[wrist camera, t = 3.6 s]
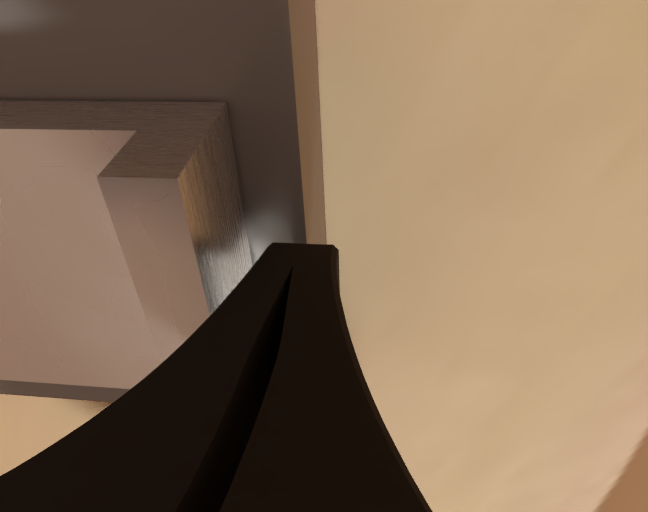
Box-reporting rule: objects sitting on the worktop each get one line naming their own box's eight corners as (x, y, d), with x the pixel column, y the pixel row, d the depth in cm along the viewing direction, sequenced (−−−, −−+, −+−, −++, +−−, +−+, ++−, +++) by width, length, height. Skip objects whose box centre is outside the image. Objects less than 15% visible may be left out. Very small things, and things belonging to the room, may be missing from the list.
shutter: (267, 360, 14) (243, 454, 12) (18, 344, 15) (-46, 429, 13) (226, 102, 10) (176, 179, 8) (-124, 99, 11) (-256, 168, 8)
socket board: (331, 340, 18) (320, 417, 16) (-55, 317, 19) (-117, 384, 17) (310, -87, 10) (283, -61, 8) (-312, -66, 12) (-483, -39, 10)
